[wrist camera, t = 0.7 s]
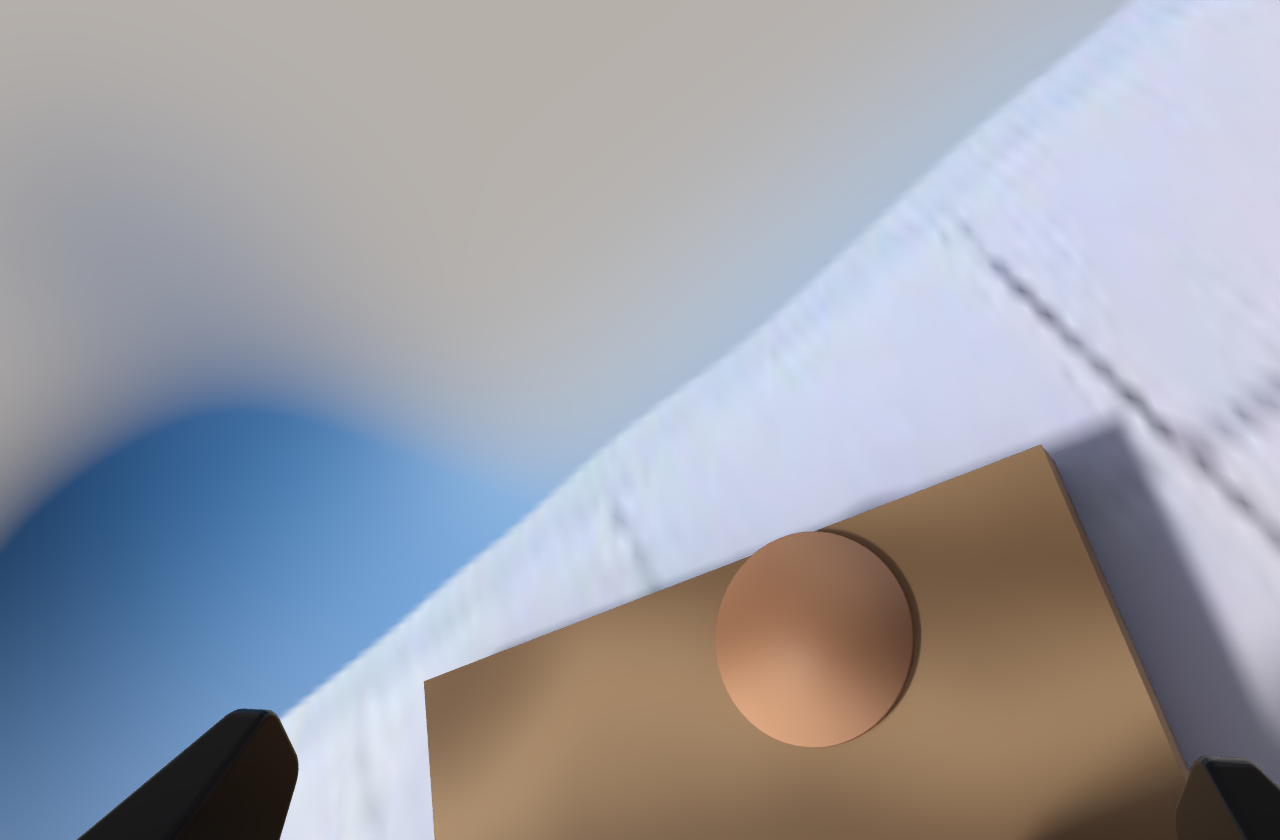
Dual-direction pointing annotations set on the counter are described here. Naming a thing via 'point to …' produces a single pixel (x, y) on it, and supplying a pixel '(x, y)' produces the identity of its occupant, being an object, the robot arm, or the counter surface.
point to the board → (831, 693)
